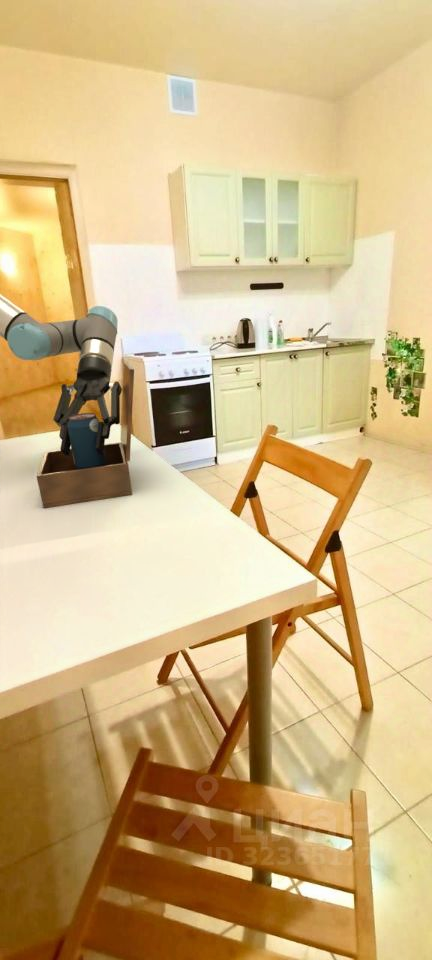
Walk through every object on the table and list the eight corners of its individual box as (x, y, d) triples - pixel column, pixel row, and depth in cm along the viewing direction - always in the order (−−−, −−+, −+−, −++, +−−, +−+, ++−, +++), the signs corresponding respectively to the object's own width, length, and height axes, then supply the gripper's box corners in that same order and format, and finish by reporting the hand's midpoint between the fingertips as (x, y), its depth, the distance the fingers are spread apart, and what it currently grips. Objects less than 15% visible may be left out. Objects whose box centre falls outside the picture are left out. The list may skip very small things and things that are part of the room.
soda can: (113, 466, 101) (105, 414, 96) (86, 475, 96) (76, 420, 92) (95, 461, 105) (87, 411, 101) (69, 470, 100) (59, 417, 96)
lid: (129, 369, 84) (134, 369, 85) (123, 361, 100) (127, 361, 101) (125, 461, 90) (129, 461, 90) (120, 440, 106) (123, 440, 106)
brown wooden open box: (43, 508, 89) (36, 476, 87) (50, 479, 105) (44, 451, 103) (132, 494, 93) (128, 463, 90) (126, 468, 109) (122, 442, 106)
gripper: (141, 372, 107) (132, 458, 98) (61, 377, 109) (45, 461, 100) (132, 351, 100) (121, 441, 91) (47, 357, 103) (29, 445, 93)
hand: (81, 451), depth 95 cm, fingers closed on soda can, 7 cm apart
